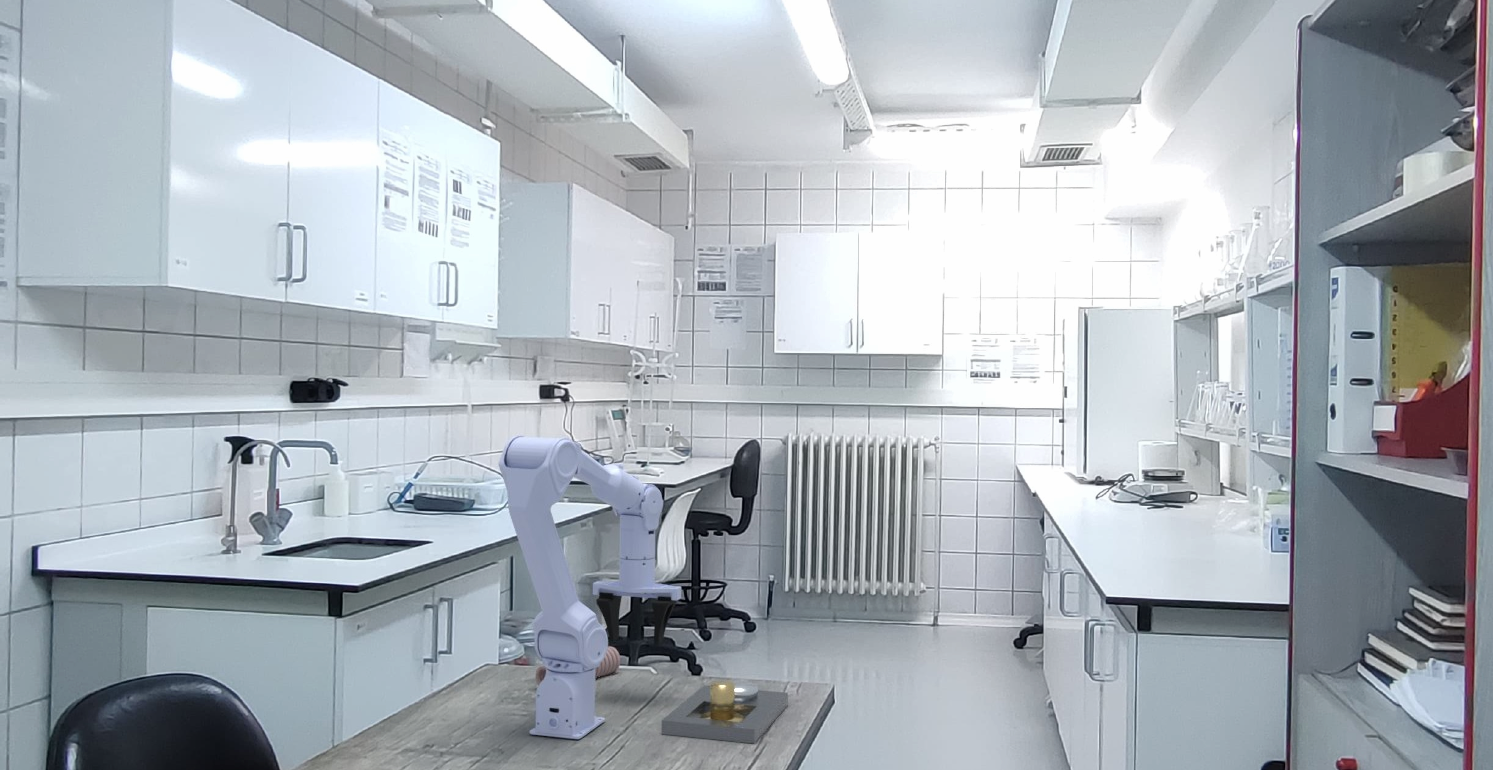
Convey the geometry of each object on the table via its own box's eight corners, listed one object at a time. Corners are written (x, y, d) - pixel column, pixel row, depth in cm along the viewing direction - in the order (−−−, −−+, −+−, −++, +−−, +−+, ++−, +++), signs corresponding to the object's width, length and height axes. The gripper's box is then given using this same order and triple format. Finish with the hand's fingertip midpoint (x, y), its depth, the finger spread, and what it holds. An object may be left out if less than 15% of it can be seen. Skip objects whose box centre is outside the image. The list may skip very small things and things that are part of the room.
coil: (552, 669, 180) (625, 649, 194) (532, 662, 182) (605, 642, 197) (549, 697, 180) (623, 674, 195) (529, 690, 183) (603, 668, 197)
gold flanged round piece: (737, 733, 161) (737, 691, 161) (694, 729, 162) (695, 687, 162) (748, 720, 167) (749, 680, 167) (707, 717, 169) (708, 676, 169)
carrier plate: (754, 743, 156) (754, 718, 156) (661, 734, 160) (661, 710, 160) (787, 705, 175) (788, 683, 175) (704, 697, 179) (704, 676, 179)
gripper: (687, 556, 179) (686, 639, 179) (605, 551, 183) (604, 633, 183) (673, 562, 172) (672, 649, 172) (587, 557, 176) (586, 642, 176)
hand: (636, 642), depth 177 cm, fingers open, 7 cm apart
